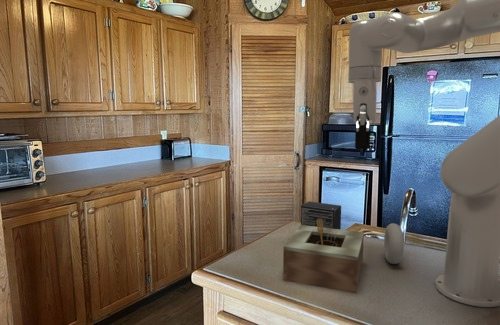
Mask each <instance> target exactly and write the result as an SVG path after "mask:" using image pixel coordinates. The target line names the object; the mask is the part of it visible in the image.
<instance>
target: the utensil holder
mask: <svg viewBox="0 0 500 325" xmlns="http://www.w3.org/2000/svg"><path fill="white" fill-rule="evenodd" d="M321 227H322V229H321ZM319 228H320V229H319ZM317 229H318V233H320V237H321V241H318V242H317V243H316V244H318V245H326V246H333V247H338V244H337V243H335V241H334V242H333V241H329V240H322V233H323V232H324V231H323V223H322V219H321V224H320V220H319V225H318V220H317ZM330 231H334V230H330ZM330 231H328V232H330ZM335 232H336V231H335ZM335 232H334V233H335ZM332 234H333V232H332ZM336 234H337V233H336ZM328 236H329V234H328ZM326 237H327V236H326ZM335 238H336V237H335ZM327 239H328V238H327ZM331 240H332V237H331ZM336 240H337V239H336Z"/></svg>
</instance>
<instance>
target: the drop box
mask: <svg viewBox="0 0 500 325" xmlns="http://www.w3.org/2000/svg"><path fill="white" fill-rule="evenodd" d="M319 229H320V228H319ZM321 229H322V227H321ZM330 230H334V231H330ZM323 231H324V232H323V233H322V240H329V241H333V242H334V241H335V243H337V244H338V247H333V246H326V245H318V244H316V243H317V242H318V241H321V237H320V233H318V229H317V227H314V226H306V225H301V224H300V225H299V226H298V228H297V229H296V230H295V231H294V233H293V234H292V235H291V236H290V238H289V239H288V240H287V242H286V243H285V244H284V245H283V252H282V253H283V260H282V261H283V270H282V273H283V274H282V277H283V278H282V280H283V281H286V282H292V283H293V282H294V283H298V284H303V285H309V286H315V287H321V288H326V289H332V290H337V291H345V292H349V293H354V294H356V293H357V291H358V287H359V283H360V278H361V273H362V268H363V260H364V259H363V258H364V241H365V239H364V236H365V232H364V231H357V230H349V229H348V230H347V229H341V230H340V229H331V228H323ZM328 231H330V232H328ZM335 231H336V232H335ZM332 232H333V234H332ZM334 232H335V233H334ZM336 233H337V234H336ZM328 234H329V236H328ZM326 236H327V237H326ZM331 237H332V240H331ZM335 237H336V238H335ZM327 238H328V239H327ZM336 239H337V240H336Z"/></svg>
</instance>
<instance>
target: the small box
mask: <svg viewBox="0 0 500 325" xmlns="http://www.w3.org/2000/svg"><path fill="white" fill-rule="evenodd" d="M300 209H301V210H300V225H306V226H314V227H317V220H318V225H319V220H320V224H321V219H322V223H323V228H331V229H340V230H342V227H341V225H342V223H341V222H342V205H339V204H332V203H331V204H330V203H324V202H316V201H307V202H305V203H302V204H301V205H300Z"/></svg>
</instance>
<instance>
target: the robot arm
mask: <svg viewBox="0 0 500 325" xmlns="http://www.w3.org/2000/svg"><path fill="white" fill-rule="evenodd" d="M495 33H500V0H459V1H458V2H457V3H456V4H454V6H452V7H451V8H449V9H446V10H444V11H442V12H439V13H436V14H433V15H428V16H425V17H421V18H416V19H415V18H414V17H411V16H409V15H407V14H405V13H401V12H390V13H387V14H384V15H382V16H378V17H376V18H373V19H369V20H368V19H366V20H361V21H357V22H354V23H353V24H351V26H350V28H349V34H348V35H349V36H348V38H349V39H348V41H349V42H348V79H347V80H348V82H347V83H349V84H353V85H352V86H353V89H352V98H353V99H352V108H353V112H352V113H353V122H354V123H355V124H356V131H355V134H354V135H355V138H354V148H355V150H369V149H370V144H371V129H370V121H372V124H375V123H376V120H377V119H376V118H377V96H378V95H377V83H380V82H382V64H383V62H382V60H383V58H382V57H383V50H385V49H386V50H390V51H396V52H398V53H402V54H410V53H411V54H412V53H416V52H417V53H419V52H423V51H428V50H429V51H430V50H434V49H438V48H443V47H447V46H450V45H454V44H456V43H461V42H464V41H467V40H468V39H472V38H477V37H481V36H486V35H491V34H495ZM439 170H440V173H439V174H440V179H441V182H442V184H443V185H444V187H445V188H446V189H447V190H448V191H449V192H451V195H450V202H449V203H450V204H449V213H448V224H447V232H446V233H447V236H446V246H445V258H444V259H445V262H444V270H443V272H444V273H443V274H440V275H437V277H436V278H435V283H434V285H435V286H434V287H435V288H436V289H437V291H439V292H440V293H441V294H442V295H443V296H445V297H447V298H448V299H451V300H453V301H456V302H458V303H460V304H461V303H462V304H464V305H469V306H473V307H481V308H493V307H500V275H499V270H500V115H498V116H497V117H495V118H494V119H493V120H491V121H490V122H489V123H487V124H486V125H485V126H483V127H482V128H481V129H479V130H478V131H476V132H475V133H474V134H472V135H471V136H470V137H469V138H467V139H466V140H465V141H463V142H462V143H460V144H459V145H458V146H456V147H455V148H453V149H452V150H450V152H449V153H447V155H446V156H445V157H444V159H443V161H442V162H441V166H440V169H439Z"/></svg>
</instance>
